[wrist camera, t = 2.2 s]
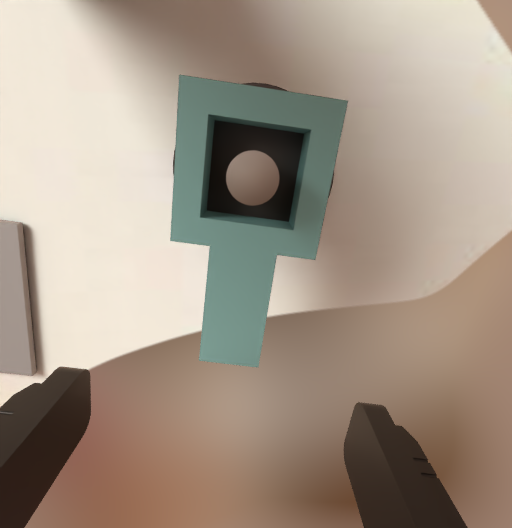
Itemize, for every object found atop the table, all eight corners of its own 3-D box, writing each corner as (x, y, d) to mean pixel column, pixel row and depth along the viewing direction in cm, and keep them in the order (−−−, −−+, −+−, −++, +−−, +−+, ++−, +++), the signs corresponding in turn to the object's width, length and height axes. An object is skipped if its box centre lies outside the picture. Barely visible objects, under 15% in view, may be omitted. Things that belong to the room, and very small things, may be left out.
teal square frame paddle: (189, 86, 14) (179, 74, 12) (335, 108, 14) (347, 100, 12) (174, 335, 18) (164, 356, 16) (288, 349, 18) (292, 371, 16)
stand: (199, 92, 22) (118, -4, 9) (325, 111, 22) (421, 46, 9) (189, 219, 25) (118, 284, 12) (302, 235, 25) (352, 313, 12)
